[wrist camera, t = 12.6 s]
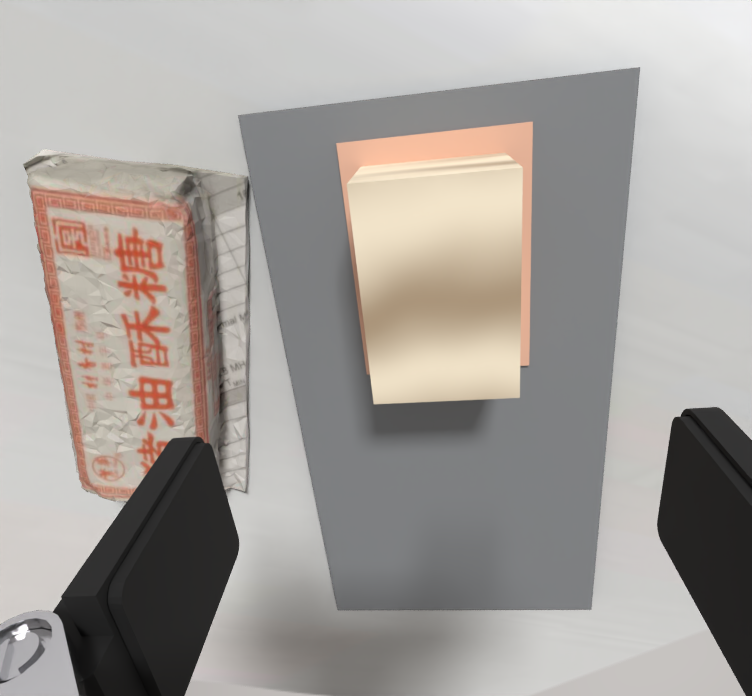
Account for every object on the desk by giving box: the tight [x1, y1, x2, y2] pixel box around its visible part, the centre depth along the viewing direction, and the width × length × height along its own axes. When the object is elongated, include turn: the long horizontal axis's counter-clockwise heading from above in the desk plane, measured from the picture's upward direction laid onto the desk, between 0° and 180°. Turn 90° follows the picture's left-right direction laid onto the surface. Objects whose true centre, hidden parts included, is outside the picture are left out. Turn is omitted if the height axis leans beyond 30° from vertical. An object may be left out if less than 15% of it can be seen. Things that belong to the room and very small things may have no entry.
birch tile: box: [347, 153, 523, 404], centre depth 22 cm, size 9×6×4 cm, turn 6°
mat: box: [238, 67, 640, 610], centre depth 28 cm, size 16×30×1 cm, turn 6°
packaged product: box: [23, 149, 250, 501], centre depth 26 cm, size 18×5×10 cm
